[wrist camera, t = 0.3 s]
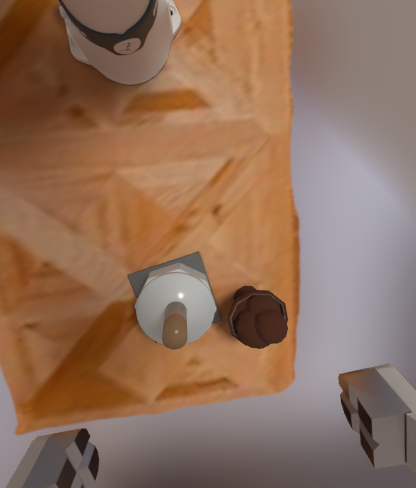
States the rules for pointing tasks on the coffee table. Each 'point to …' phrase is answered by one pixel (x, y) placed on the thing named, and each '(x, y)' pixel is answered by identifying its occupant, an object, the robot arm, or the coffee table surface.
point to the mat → (189, 260)
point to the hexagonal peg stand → (175, 305)
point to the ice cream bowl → (257, 317)
